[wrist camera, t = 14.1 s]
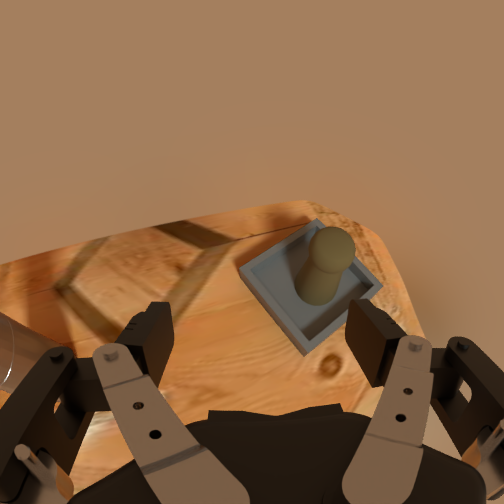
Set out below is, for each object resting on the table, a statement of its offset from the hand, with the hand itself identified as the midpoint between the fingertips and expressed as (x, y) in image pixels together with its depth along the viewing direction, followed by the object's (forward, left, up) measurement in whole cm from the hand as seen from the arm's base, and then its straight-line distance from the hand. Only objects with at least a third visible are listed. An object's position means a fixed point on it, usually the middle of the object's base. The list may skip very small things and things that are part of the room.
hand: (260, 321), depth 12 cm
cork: (+13, +5, -23) cm, 27 cm away
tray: (+13, +5, -24) cm, 27 cm away
